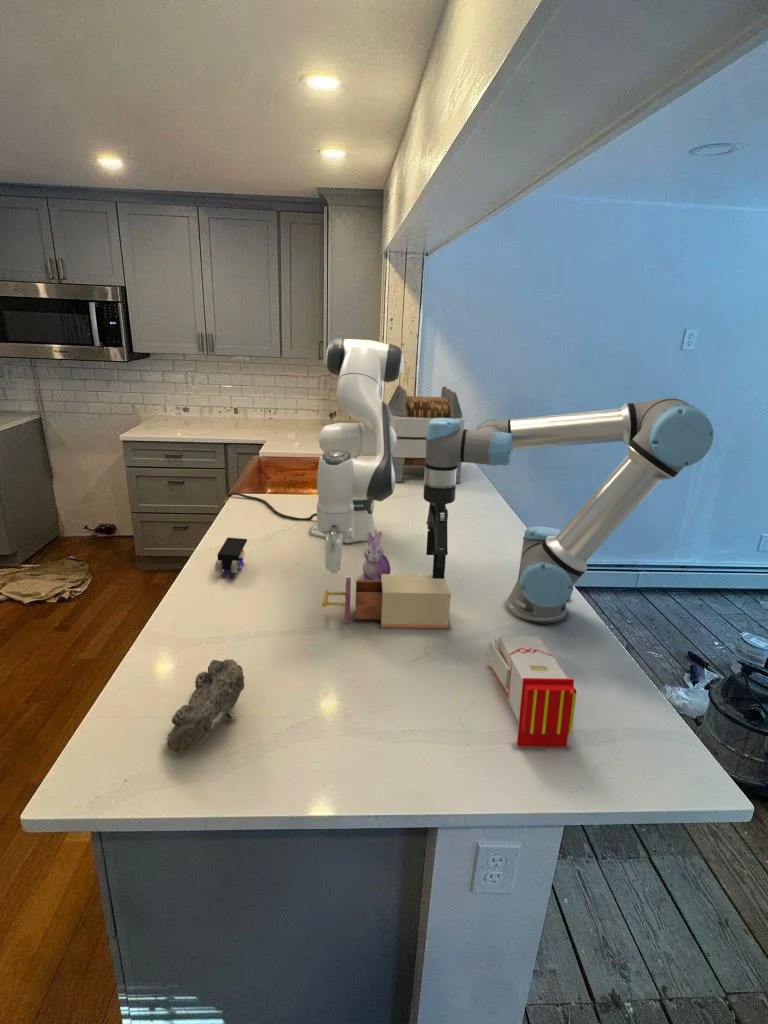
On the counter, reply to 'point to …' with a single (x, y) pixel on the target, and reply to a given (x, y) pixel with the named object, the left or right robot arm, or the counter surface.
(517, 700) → the toy
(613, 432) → the right robot arm
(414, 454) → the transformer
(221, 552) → the figurine character
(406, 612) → the beige drawer cabinet
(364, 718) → the counter surface
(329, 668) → the counter surface
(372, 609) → the drawer
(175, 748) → the fossil
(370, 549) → the figurine
